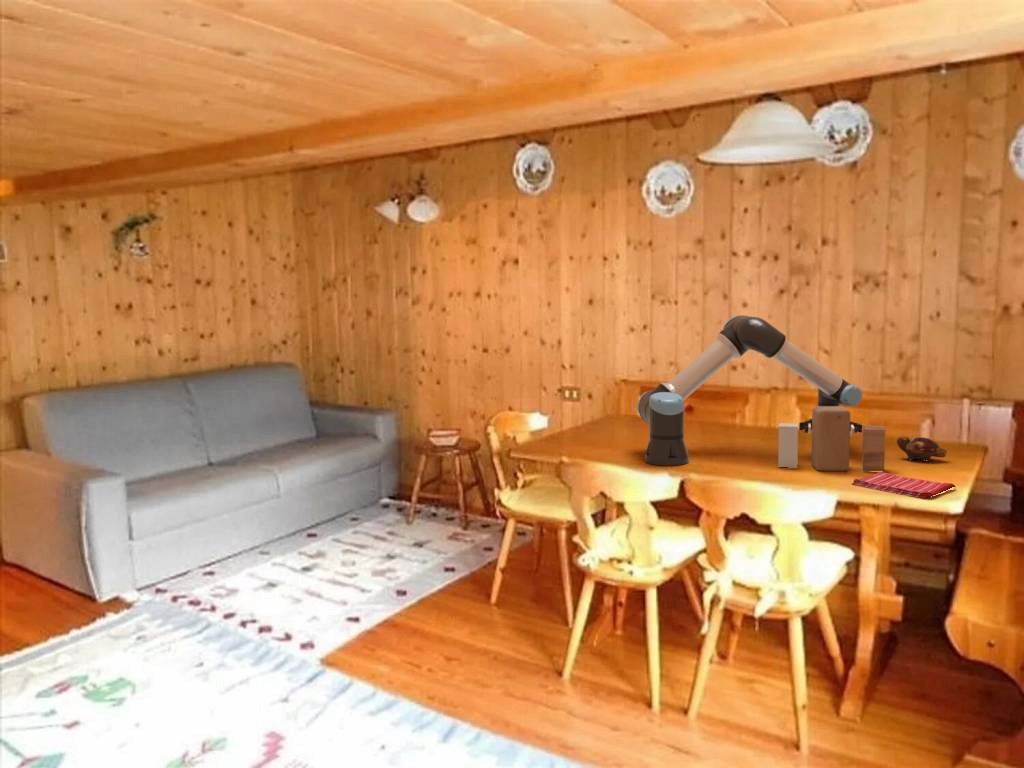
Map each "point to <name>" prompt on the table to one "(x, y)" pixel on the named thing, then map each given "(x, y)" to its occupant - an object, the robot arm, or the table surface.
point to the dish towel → (903, 485)
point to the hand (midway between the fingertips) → (831, 431)
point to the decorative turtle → (920, 448)
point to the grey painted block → (788, 445)
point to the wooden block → (830, 438)
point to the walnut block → (873, 448)
